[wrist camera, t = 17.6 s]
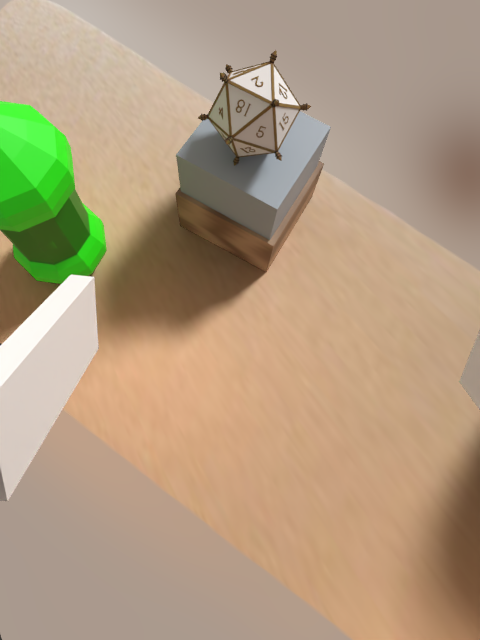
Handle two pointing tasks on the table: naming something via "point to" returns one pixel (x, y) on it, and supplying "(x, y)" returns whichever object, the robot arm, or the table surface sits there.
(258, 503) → the table surface
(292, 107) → the game die
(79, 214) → the plastic bottle
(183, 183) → the tower top
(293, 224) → the tower base
